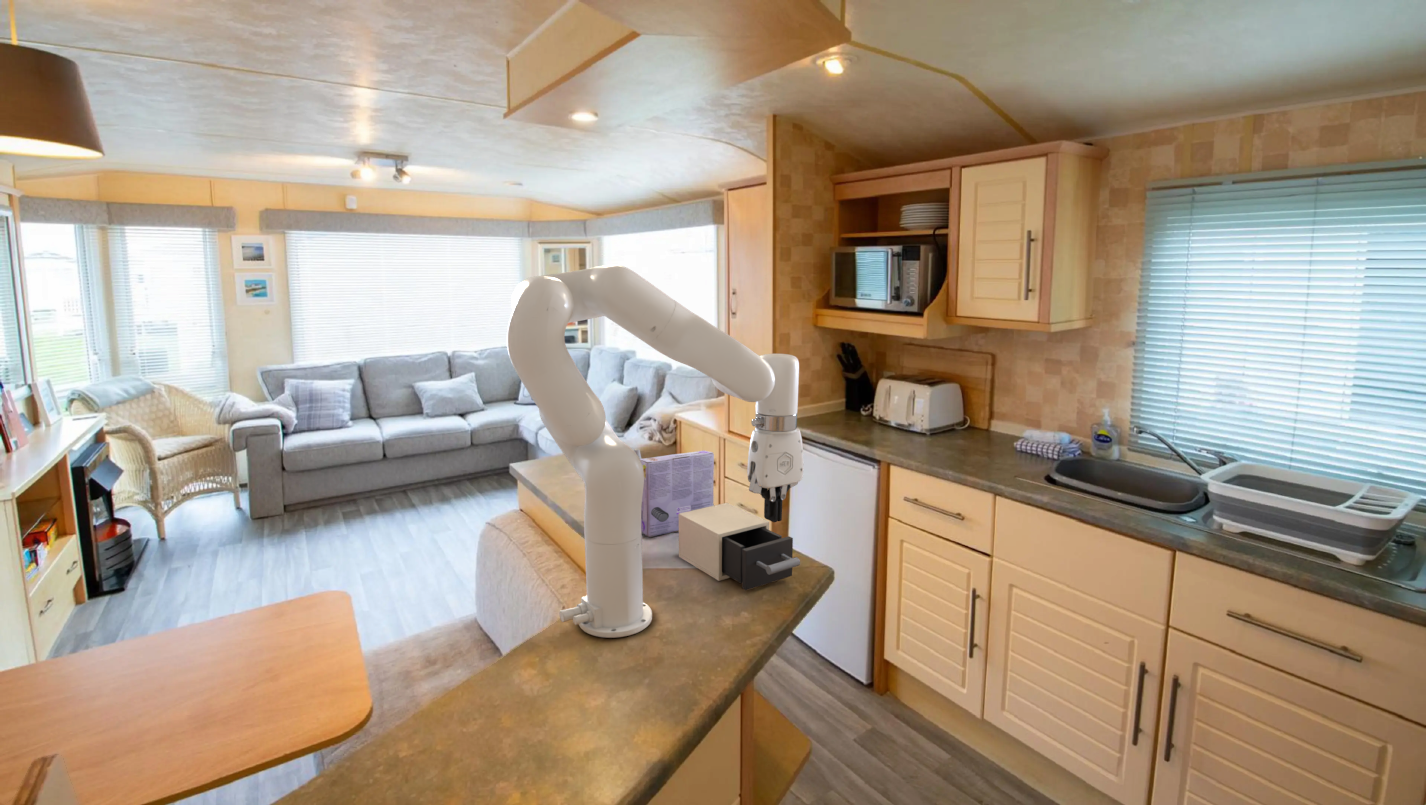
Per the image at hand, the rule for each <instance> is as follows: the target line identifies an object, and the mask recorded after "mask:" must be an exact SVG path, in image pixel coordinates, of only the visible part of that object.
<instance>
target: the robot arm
mask: <svg viewBox="0 0 1426 805" xmlns="http://www.w3.org/2000/svg"><path fill="white" fill-rule="evenodd" d="M510 302H511V309H512V312H511V314H510V318H509V320H508V325H507V332H506V347H507V353H508V357H509V360H510V362H511V365H512V367H513V369H514V371H515V373H516V374H517V376H518V378H519V379H520V381H521V383H522V384H523V386H524V388H525V389H526V391H527V393H528V395H529V396H530V398H531V399H532V401H533V402H534V403H535V405H536V407H537V408H538V413H539V418H540V420H541V422H542V424H543V425H544V427H545V428H546V430H547V432H548V433H549V434H550V436H551V438H552V439H553V441H554V442H555V443H556V445H557V446H558V448H559V449H560V451H561V452H562V454H563V455H564V457H565V458H566V459H567V461H568V462H569V464H570V466H571V467H572V468H573V469H574V471H575V473H576V474H577V475H578V477H579V478H580V480H581V481H582V482H583V483H584V494H585V495H584V508H583V509H584V510H583V532H584V554H585V557H584V558H585V578H586V579H585V585H586V586H585V587H586V595H583V596H581V598H580V602H581V603H578V604H576V606H575V607H569V608H566V609H563V610H560V611H559V619H560V621H561V623H566V622H570V621H572V623H573V624H574V625H575V626H576V625H578V626H579V628H580V629H581V630H582V631H583V632H584V633H586V634H588V635H591V636H594V637H597V638H608V639H612V638H613V639H615V638H624V637H627V636H632V635H635V634H638V633H639V632H642V631H643V630H645V629H646V628H647V627H648V626H649V625H651V623H652V621H653V610H652V608H651V607H650V606H649V604H647V603H645V602H644V585H643V583H644V581H643V580H644V579H643V578H644V577H643V536H642V534H643V533H642V532H641V506H642V495H643V487H644V471H643V466H642V463H641V461H640V459H639V457H638V455H637V454H636V453H635V451H634V450H635V449H633V447H630V445H628V444H627V443H626V442H625V441H624V440H622V439H620V438H619V436H618V435H617V434H616V432H615V431H614V429H613V428H612V426H611V425H610V423H609V421H608V420H607V418H606V411H605V408H604V405H603V403H602V401H601V400H600V398H599V396H597V394H596V393H595V392H594V390H592V388H591V386H590V385H589V383H588V382H587V380H586V379H585V377H584V375H583V374H582V373H581V371H580V370H579V368H578V366H577V365H576V363H575V360H574V359H573V357H572V356H571V354H570V352H569V350H568V348H567V345H566V339H565V336H566V330H567V326H568V324H570V323H576V322H581V321H586V320H591V319H597V318H602V317H605V318H606V319H608V320H610V321H611V322H613V323H615V324H616V325H618V326H619V327H621V328H622V329H623V330H625V331H627V332H628V333H630V334H631V335H633V337H634V336H635V337H636V338H638V339H639V340H640V341H642V342H644V343H645V344H646V345H648V346H649V347H651V348H652V349H654V350H655V351H657V352H658V353H660V354H662V355H664V356H666V357H667V358H669V359H671V360H673V361H675V362H677V363H681V364H683V365H686V366H688V367H690V368H692V369H695V370H696V371H698V372H700V373H702V374H704V375H705V376H707V377H708V378H710V380H711V382H712V384H713V386H714V387H715V388H716V389H717V390H718V391H720V392H721V393H724V394H726V395H727V396H731V397H734V398H737V399H740V400H742V401H745V402H748V403H755V416H754V417H755V418H752V419H751V422H750V424H751V426H752V427H754V429H753V430H752V432H751V437H750V442H749V448H748V457H747V470H746V472H747V480H748V482H749V487H748V492H750V493H753V494H758V495H759V494H760V496H761V498H762V499H763V500H764V502H763V503H764V504H763V517H764V518H763V519H765V520H767V521H769V522H772V523H777V522H782V520H783V501H784V500H785V499H786V498H787V493H788V492H789V490H790V489H791V488H793V487H795V486H797V485H798V483H800V482H801V481H802V480H803V478H804V447H803V437H802V433H801V429H800V428H798V407H799V406H798V404H799V386H800V385H799V381H800V361H799V358H798V357H797V356H795V355H793V354H788V353H765V354H761V355H759V354H758V353H756V352H755V351H754V350H752V349H751V348H749V347H748V346H746V345H745V344H743V343H742V342H741V341H739V340H737V339H736V338H735V337H733V336H731V335H730V334H728V333H726V332H724V331H723V330H721V329H720V328H718V327H717V326H715V325H713V324H712V323H710V322H708V321H707V320H705V318H703V317H701V316H699V315H697V314H696V313H694V312H692V311H691V310H690V309H688V308H686V307H685V306H683V305H682V304H681V303H679V302H678V301H676V300H675V299H674V298H672V297H671V296H669V295H668V294H666V293H665V292H664V291H662V290H661V289H659V288H658V287H656V286H655V285H654V284H652V283H651V282H650V281H648V280H646V279H645V278H643V276H641V275H640V274H638V273H637V272H635V271H634V270H632V269H630V268H628V267H626V266H624V265H620V264H608V265H599V266H594V267H589V268H583V269H578V270H572V271H571V270H570V271H564V272H557V273H550V274H542V275H535V276H530V277H527V278H525V279H523V280H522V281H521V282H519V283H518V284H517V285H516V286H515V288H514V290H513V292H512V295H511V301H510Z"/></svg>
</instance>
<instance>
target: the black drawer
mask: <svg viewBox="0 0 1426 805" xmlns="http://www.w3.org/2000/svg"><path fill="white" fill-rule="evenodd" d="M793 548H794V537H792V536H785V537H782V535H781V534H778V533H776V532H774V531H772V530H770V529H769V530H768V529H766V528H763V527H759V528H756V529H752V530H748V531H744V532H740V533H736V534H732V535H729V536H725V537H722V573H724V574H726V575H728V576H729V577H730V579H732V580H734V581H735V582H738V583H740V584H741V588H742V589H743V590H744V591H749V590H752V589H755V588H758V587H762V586H763V585H767V584H771V583H774V582H777V581H781V580H784V579H786V578H789V577H792V576H793V568H796V567H799V566H800V565H801V560H800V558H798V556H795V557H793V554H794V553H793V552H794V551H793V550H794V549H793Z"/></svg>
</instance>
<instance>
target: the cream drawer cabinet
mask: <svg viewBox="0 0 1426 805" xmlns="http://www.w3.org/2000/svg"><path fill="white" fill-rule="evenodd" d="M759 527H763V528H766V529H768V530H770V520H767V519H765V518H762V517H760V516H758V515H756V514H754V513H751V512H749V511H747V510H746V509H743V508H740V507H738V506H736V505H733V504H732V503H730V502H724V503H719V504H715V505H714V506H710V507H706V508H701V509H697V510H692V511H688V512H683V513H679V531H678V558H680V559H681V560H684V561H685V562H687V563H689V564H690V565H692V566H693V567H695V568H696V569H698V570H700V571H702V572H703V573H705V574H707V575H708V576H710V577H711V578H713V579H715V580H716V581H718V582H719V581H723V580H727V579H731V577H729V576H728V575H726V574H724V573H722V537H725V536H729V535H732V534H736V533H740V532H744V531H748V530H752V529H756V528H759Z"/></svg>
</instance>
